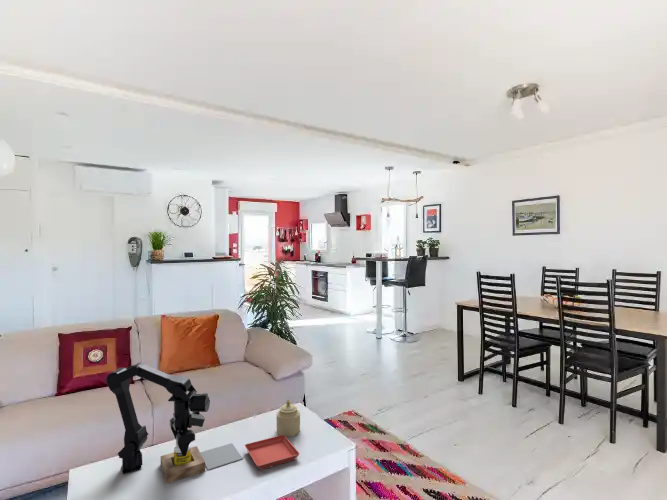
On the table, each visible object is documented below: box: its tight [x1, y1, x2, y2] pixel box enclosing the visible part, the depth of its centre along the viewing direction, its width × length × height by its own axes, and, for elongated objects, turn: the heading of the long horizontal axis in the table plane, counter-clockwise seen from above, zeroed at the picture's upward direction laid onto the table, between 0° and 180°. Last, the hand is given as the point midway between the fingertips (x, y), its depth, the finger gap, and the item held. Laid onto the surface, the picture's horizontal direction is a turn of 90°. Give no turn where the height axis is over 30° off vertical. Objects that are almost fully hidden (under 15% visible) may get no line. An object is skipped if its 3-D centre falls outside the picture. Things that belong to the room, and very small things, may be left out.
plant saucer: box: [244, 435, 300, 470], centre depth 159 cm, size 18×18×3 cm
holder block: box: [159, 445, 206, 484], centre depth 150 cm, size 14×14×4 cm
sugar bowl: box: [276, 399, 301, 438], centre depth 181 cm, size 15×11×15 cm
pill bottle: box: [173, 441, 191, 467], centre depth 150 cm, size 6×6×11 cm
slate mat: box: [200, 442, 244, 471], centre depth 158 cm, size 14×14×1 cm
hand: (182, 450), depth 150 cm, fingers open, 9 cm apart
